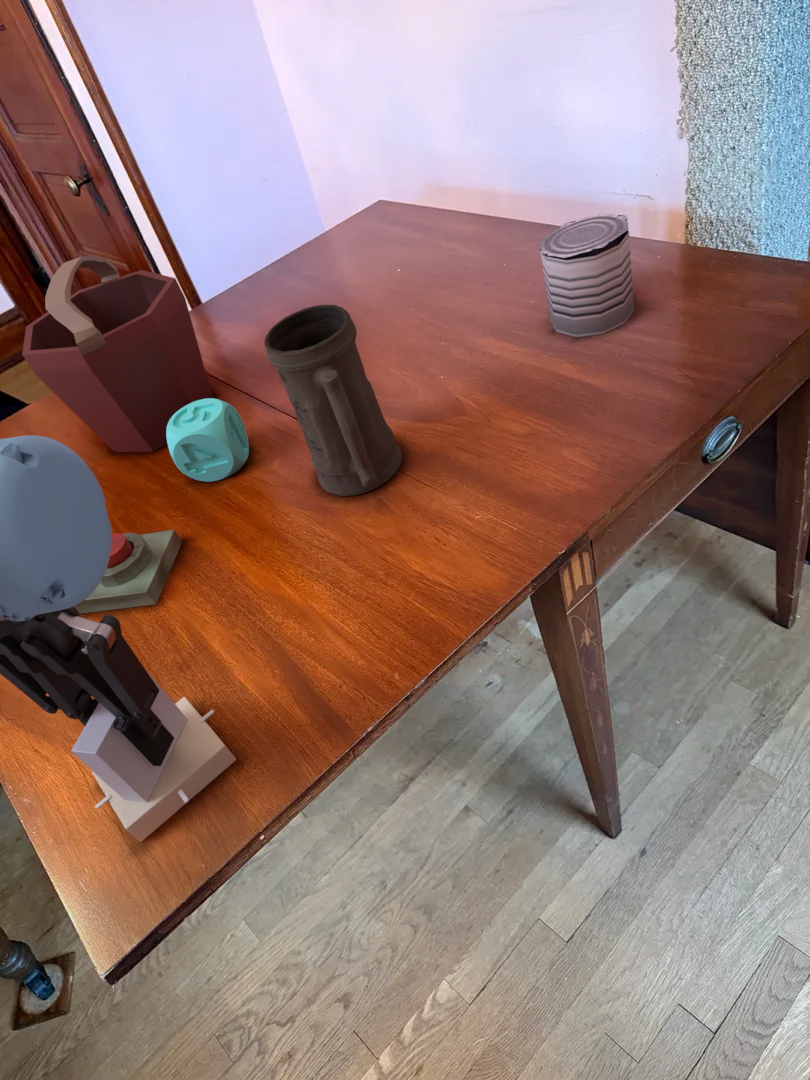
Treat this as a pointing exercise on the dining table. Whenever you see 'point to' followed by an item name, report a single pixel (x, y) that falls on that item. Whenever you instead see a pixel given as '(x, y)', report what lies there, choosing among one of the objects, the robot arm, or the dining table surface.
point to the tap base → (174, 776)
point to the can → (588, 275)
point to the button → (119, 550)
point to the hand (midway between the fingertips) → (148, 749)
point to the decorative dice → (207, 440)
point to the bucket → (118, 353)
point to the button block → (136, 574)
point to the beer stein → (333, 399)
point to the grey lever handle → (125, 750)
